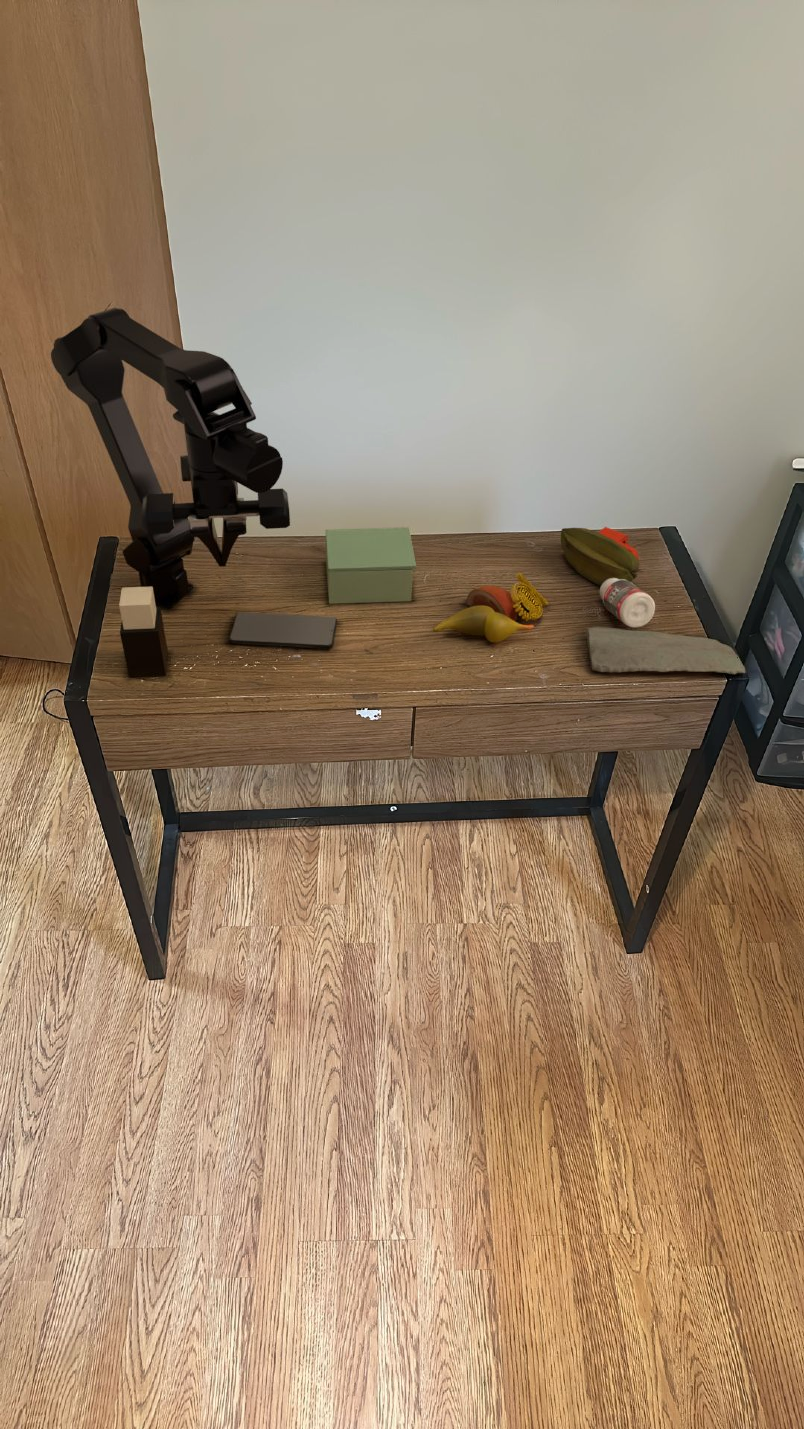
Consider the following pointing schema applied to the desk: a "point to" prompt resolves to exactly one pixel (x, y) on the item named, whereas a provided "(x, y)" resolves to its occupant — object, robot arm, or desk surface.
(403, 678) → the desk surface
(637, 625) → the pill bottle
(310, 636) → the smartphone
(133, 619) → the block
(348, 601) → the case
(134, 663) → the stand
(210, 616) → the desk surface
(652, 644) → the stone slab
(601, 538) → the fruit
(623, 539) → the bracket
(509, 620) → the yellow tapered piece
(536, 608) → the logo
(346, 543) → the cover
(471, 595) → the fruit slice
